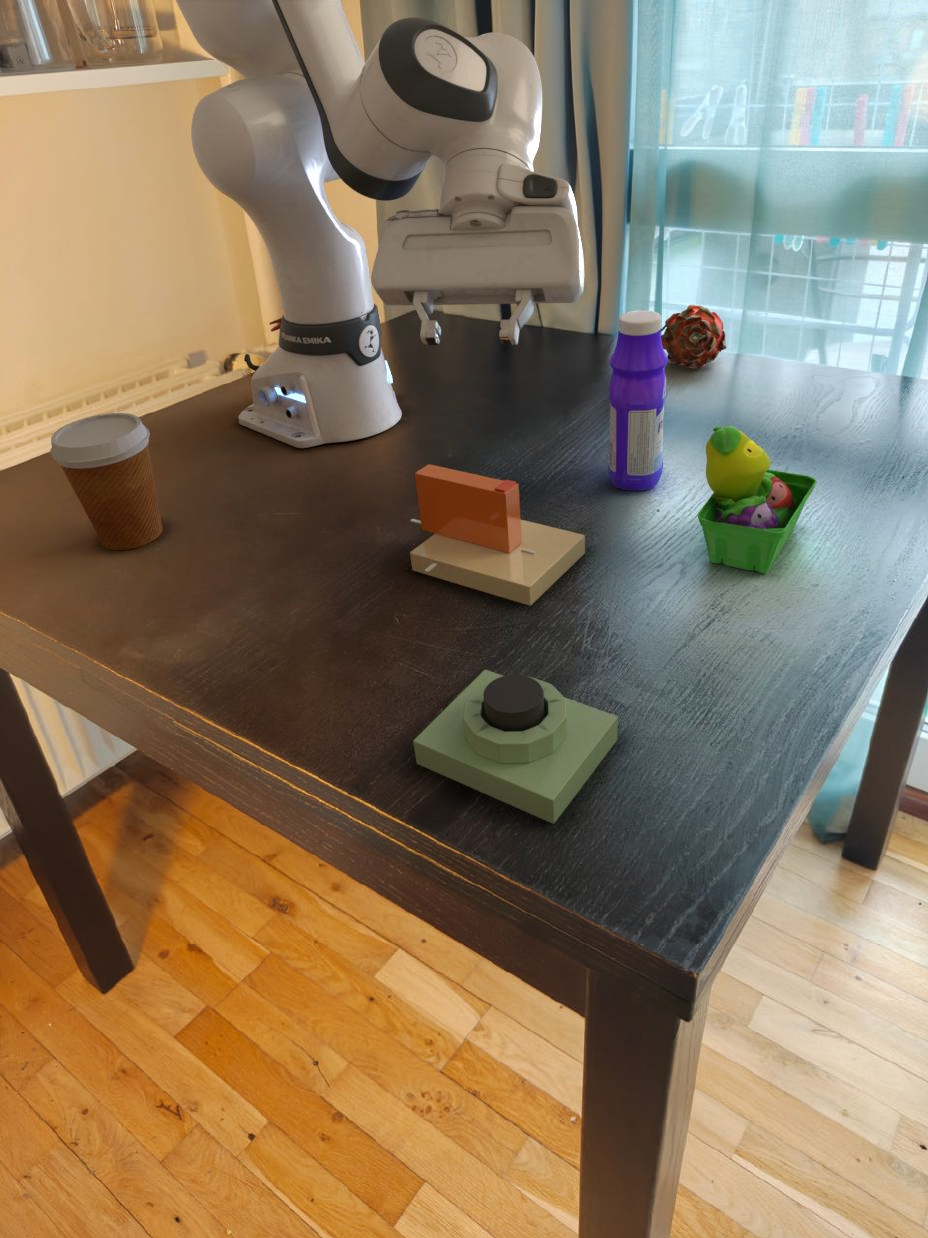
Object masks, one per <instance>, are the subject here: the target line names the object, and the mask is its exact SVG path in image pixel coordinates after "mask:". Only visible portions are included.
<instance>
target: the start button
mask: <svg viewBox="0 0 928 1238" xmlns="http://www.w3.org/2000/svg"><path fill="white" fill-rule="evenodd" d="M530 677H531V676H527V675H524V674H507V675H502V677H499V678H497V679H495V680H493V681H492V682H490V683H489V684H488V685H487V687H486V688H485V690H484V694H483V697H484V708H485V717H486V720H487V721H488V723H489V724H490V725H491V726H492V727H494V728H496V729H499V730H502V731H504V732H520V731H525V730H528V729H530V728H533V727H535V726H537V725H538V724H539V723H540V722H541V721H542V719H543V717H544V692H543V688H542V686H541V685H540V684H539V683H538V682H537V681H536V680H534V679H533V678H534V677H532V678H530Z"/></svg>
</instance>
